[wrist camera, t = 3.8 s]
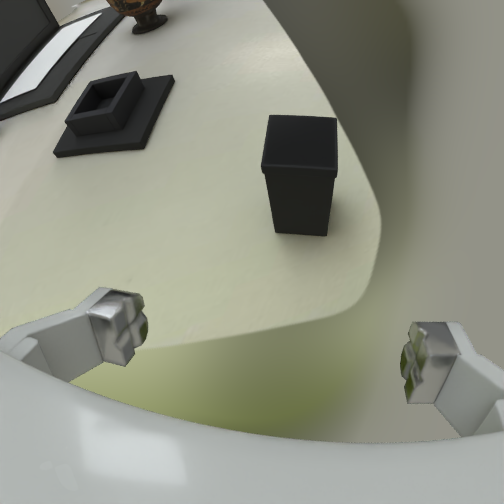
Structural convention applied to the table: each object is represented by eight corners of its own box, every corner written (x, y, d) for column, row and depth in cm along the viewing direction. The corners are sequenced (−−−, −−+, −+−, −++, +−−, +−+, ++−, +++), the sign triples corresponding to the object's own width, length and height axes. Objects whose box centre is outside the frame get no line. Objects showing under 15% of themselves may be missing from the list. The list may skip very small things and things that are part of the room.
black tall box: (329, 191, 27) (337, 117, 19) (327, 238, 25) (337, 170, 17) (279, 188, 28) (269, 114, 20) (273, 233, 26) (260, 166, 18)
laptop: (55, 102, 41) (-22, -13, 17) (-18, 128, 46) (-82, 53, 22) (137, 3, 54) (103, -82, 30) (59, 31, 59) (21, -35, 35)
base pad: (175, 81, 37) (165, 56, 33) (144, 149, 32) (128, 123, 28) (92, 95, 39) (80, 76, 35) (57, 158, 35) (39, 138, 31)
